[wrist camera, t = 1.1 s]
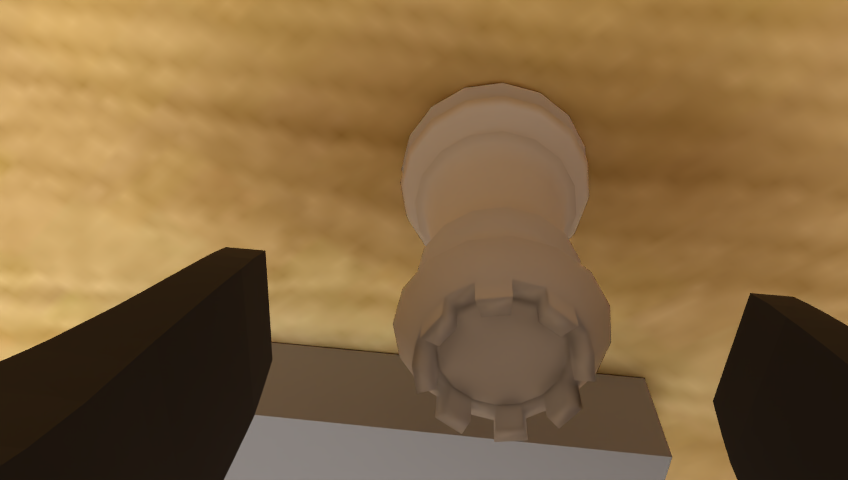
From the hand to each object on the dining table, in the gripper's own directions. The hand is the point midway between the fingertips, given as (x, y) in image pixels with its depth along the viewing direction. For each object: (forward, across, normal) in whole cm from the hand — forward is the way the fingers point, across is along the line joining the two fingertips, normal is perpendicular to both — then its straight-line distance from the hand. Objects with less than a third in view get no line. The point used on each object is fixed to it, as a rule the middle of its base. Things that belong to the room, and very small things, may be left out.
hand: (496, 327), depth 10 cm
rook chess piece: (+7, 0, 0) cm, 7 cm away
